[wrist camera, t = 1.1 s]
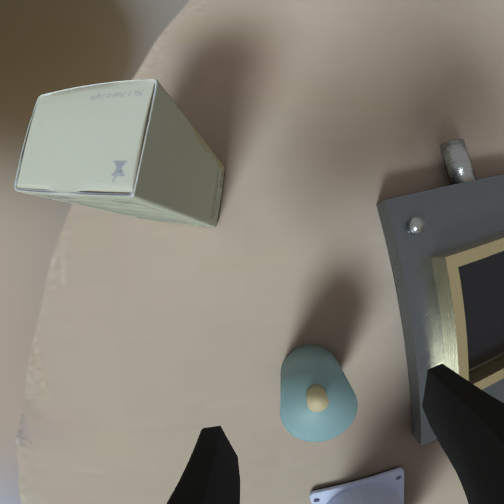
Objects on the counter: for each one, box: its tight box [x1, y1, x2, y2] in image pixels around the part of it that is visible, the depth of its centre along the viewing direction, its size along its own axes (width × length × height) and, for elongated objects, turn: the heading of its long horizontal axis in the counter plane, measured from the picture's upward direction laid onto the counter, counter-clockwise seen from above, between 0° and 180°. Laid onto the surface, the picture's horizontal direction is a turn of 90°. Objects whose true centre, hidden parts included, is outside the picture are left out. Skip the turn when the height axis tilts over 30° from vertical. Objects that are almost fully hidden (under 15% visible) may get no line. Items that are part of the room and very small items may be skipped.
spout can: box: [280, 345, 357, 442], centre depth 17 cm, size 4×4×7 cm
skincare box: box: [14, 79, 225, 227], centre depth 16 cm, size 6×4×12 cm
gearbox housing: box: [377, 139, 504, 446], centre depth 18 cm, size 21×14×4 cm, turn 14°
